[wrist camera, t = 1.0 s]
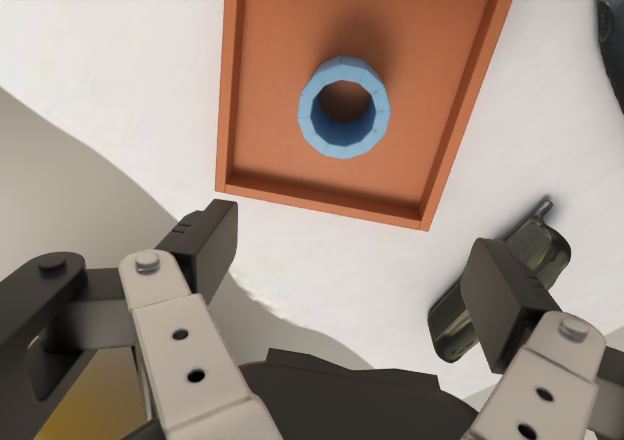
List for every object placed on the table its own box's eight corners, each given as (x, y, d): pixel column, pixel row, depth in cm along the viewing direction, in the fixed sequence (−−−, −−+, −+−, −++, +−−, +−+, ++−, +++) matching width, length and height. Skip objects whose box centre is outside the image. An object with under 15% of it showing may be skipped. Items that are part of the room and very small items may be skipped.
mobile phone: (457, 372, 32) (605, 246, 25) (427, 358, 32) (570, 225, 25) (444, 329, 37) (568, 211, 30) (419, 316, 36) (538, 193, 29)
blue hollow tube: (302, 125, 28) (291, 149, 23) (314, 49, 26) (305, 56, 20) (371, 138, 28) (376, 166, 23) (390, 63, 26) (400, 75, 20)
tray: (223, 179, 31) (214, 191, 29) (239, -69, 23) (227, -79, 21) (422, 217, 31) (428, 232, 29) (505, -18, 23) (521, -22, 21)
